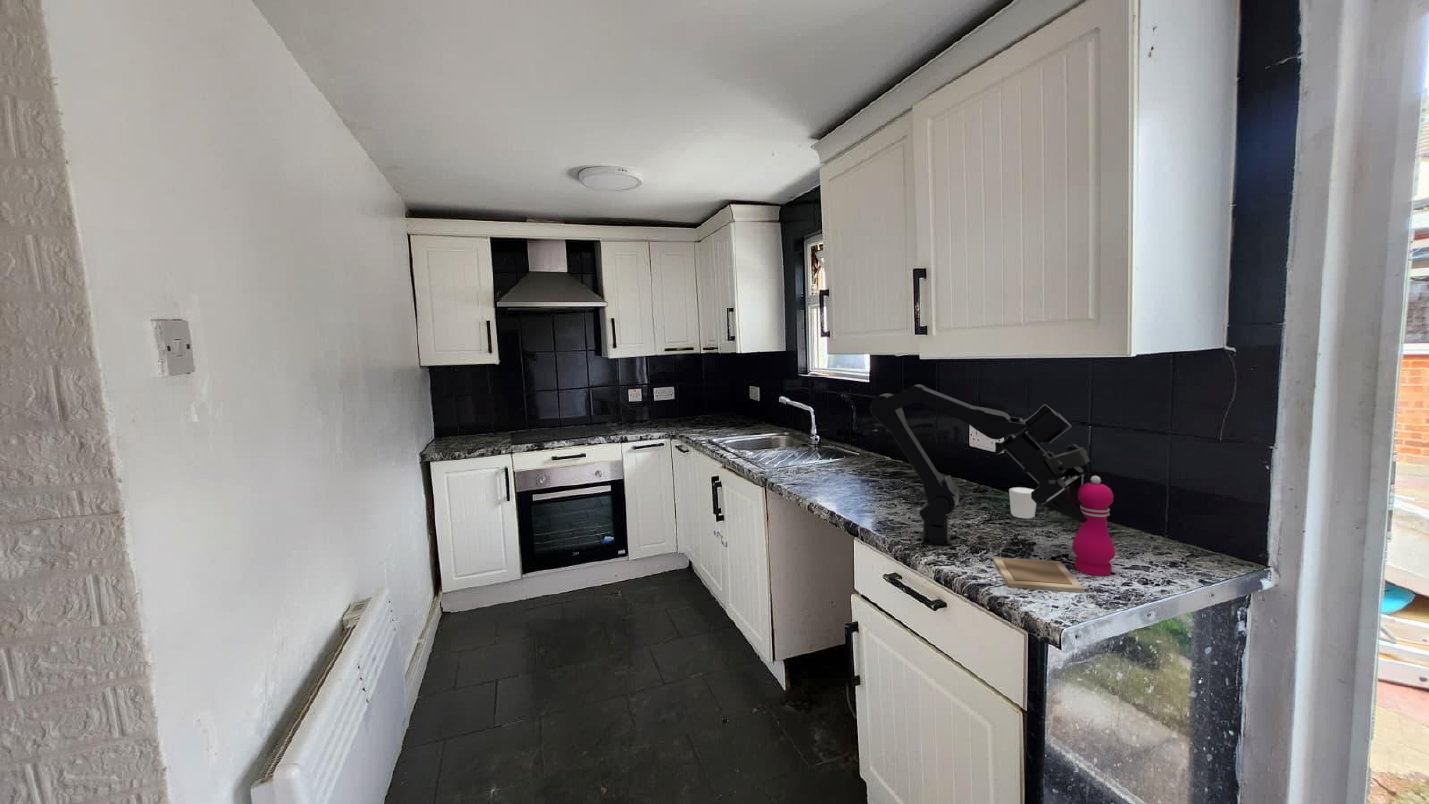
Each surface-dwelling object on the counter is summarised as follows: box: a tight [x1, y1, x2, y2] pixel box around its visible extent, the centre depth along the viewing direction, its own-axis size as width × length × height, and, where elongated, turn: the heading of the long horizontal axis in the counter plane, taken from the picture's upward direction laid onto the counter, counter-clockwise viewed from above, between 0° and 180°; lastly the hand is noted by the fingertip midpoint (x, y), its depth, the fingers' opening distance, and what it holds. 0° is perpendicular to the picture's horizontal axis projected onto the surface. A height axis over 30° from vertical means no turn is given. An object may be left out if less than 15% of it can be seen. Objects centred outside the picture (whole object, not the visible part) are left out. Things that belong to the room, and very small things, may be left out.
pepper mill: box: [1071, 475, 1116, 577], centre depth 109 cm, size 7×7×20 cm
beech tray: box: [992, 556, 1085, 594], centre depth 109 cm, size 13×13×1 cm
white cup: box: [1008, 486, 1037, 520], centre depth 144 cm, size 7×7×7 cm
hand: (1090, 515), depth 109 cm, fingers open, 9 cm apart
